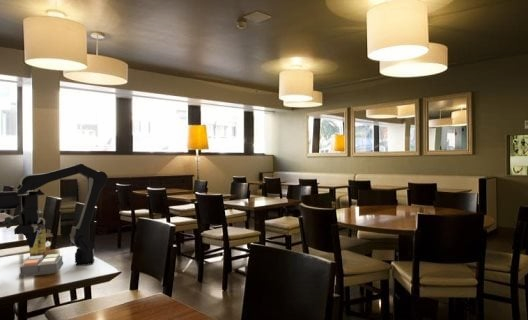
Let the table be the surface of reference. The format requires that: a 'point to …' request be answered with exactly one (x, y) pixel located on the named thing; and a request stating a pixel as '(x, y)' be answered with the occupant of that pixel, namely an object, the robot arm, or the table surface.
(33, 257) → the grey key
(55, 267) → the keypad housing
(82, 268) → the table surface
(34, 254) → the sauce bottle
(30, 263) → the terracotta key
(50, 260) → the cream key
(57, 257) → the sage key
